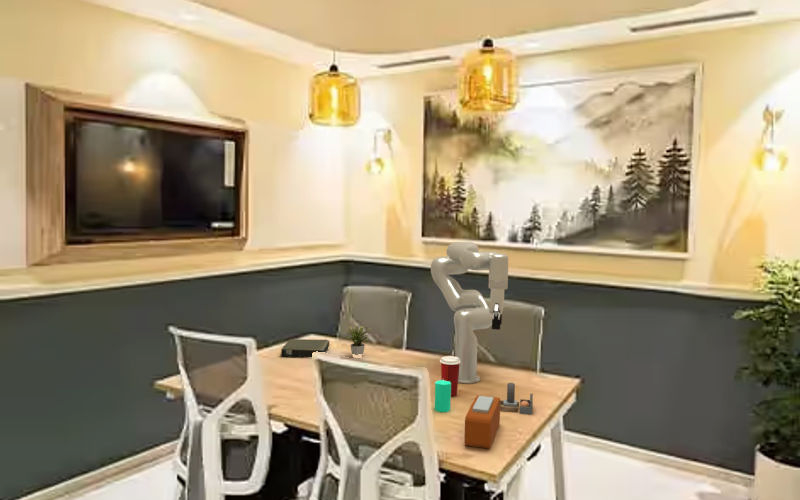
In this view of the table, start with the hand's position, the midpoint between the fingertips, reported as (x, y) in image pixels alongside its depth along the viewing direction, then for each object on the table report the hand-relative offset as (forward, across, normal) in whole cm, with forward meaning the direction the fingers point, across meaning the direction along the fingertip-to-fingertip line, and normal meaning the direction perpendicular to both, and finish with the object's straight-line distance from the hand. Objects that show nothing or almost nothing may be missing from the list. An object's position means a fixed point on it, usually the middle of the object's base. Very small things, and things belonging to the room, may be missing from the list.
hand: (496, 326), depth 243 cm
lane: (+28, +14, +2) cm, 32 cm away
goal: (+28, +14, +13) cm, 34 cm away
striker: (+28, +14, +7) cm, 32 cm away
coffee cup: (+28, +4, -18) cm, 34 cm away
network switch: (+29, -41, -98) cm, 110 cm away
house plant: (+28, -39, -70) cm, 85 cm away
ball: (+27, +14, +12) cm, 32 cm away
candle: (+28, +22, -18) cm, 40 cm away
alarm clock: (+29, +42, -1) cm, 51 cm away
